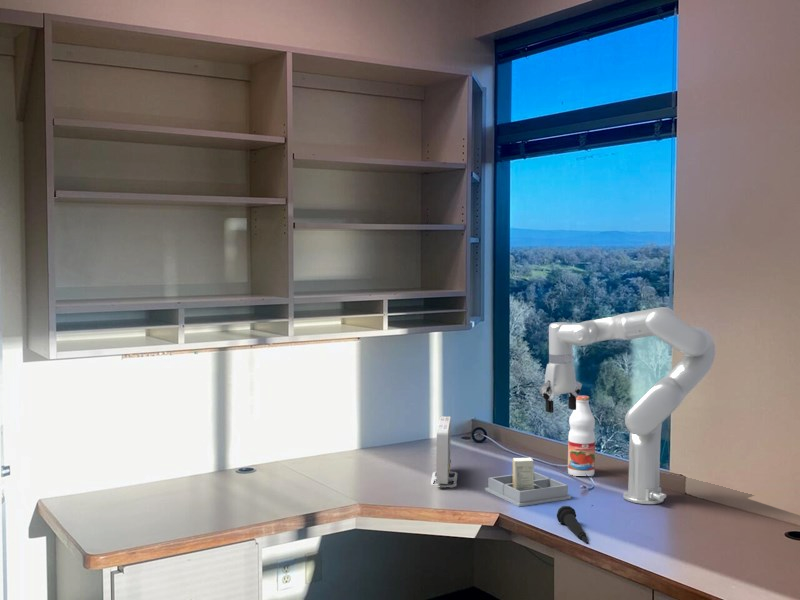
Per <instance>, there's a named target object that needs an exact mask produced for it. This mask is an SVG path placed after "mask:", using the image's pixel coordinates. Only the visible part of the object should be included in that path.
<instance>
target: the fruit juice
mask: <svg viewBox="0 0 800 600" xmlns="http://www.w3.org/2000/svg"><path fill="white" fill-rule="evenodd" d="M589 403H590V396H588V395H578V397H577V398H576V410H572V413H571V414H570V416H569V418H568V424H569V431H568V435H567V436H568V438H567V440H568V441H567V473H568V475H569V476H572V475H573V477H576V476H586V474H585V473H587V474H588V475H590V476H591V477H594V476H595V469H596V467H595V466H596V461H595V460H596V434H595V433H596V432H595V431H594V428H595V426H596V425H595V424H596V419H595V416H594V414H593V413H592V410H591V406H590V404H589Z"/></svg>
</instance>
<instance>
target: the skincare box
mask: <svg viewBox="0 0 800 600" xmlns="http://www.w3.org/2000/svg"><path fill="white" fill-rule="evenodd" d="M534 463H535V462H534V459H533V457H513V458H512V475H513V488H515V489H517V490H519V491H525V490H532V489H534V472H535V470H534V469H535V468H534V467H535V465H534Z"/></svg>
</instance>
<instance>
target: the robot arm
mask: <svg viewBox="0 0 800 600" xmlns="http://www.w3.org/2000/svg"><path fill="white" fill-rule="evenodd" d="M652 336H653V337H654V336H655V337H657V338H658V339H659V340H660V341H662V342H664V343H666V344H667V345H669V347H672V348H673V349H675V350H677V351H678V352H680V353H682V354H683V355H684V357H683V358H682V359H681V360H680V361H678V363H677V364H676V365H675V366H674V367H673V368H672V369H671V370H670V371H669V372H668V373H667V374H666V375H665V376H663V377H662V378H661V379H660V380H658V381H657V382H656V383H655V384H653V385H652V386H651V388H649V389H648V390H647V391H646V392H645V394H643V395H642V396H641V397H640V398H639V399H638V401H636V403H634V405H632V406H631V407H630V408H629V409H628V411H627V412H626V414H625V417H624V423H625V427H626V428H627V431H628V432H629V441H628V442H629V443H628V444H629V445H628V446H629V450H628V487H627V488H628V489H627V491H624V492H623V495H622V497H623V499H624V500H626V501H628V502H631V503H635V504H641V505H656V504H661V503H663V502H665V499H666V498H667V494H666V493H663V492H662V487H660V475H661V473H660V468H661V467H660V465H661V461H660V460H661V437H662V436H661V435H662V428H663V427H662V426H663V422H664V421H665V420H667V419H668V417H669V416H670V415H671V414H673V412H674V411H675V410H677V408H678V407H680V405H681V404H682V403H683V400H684V399H685V398H686V397H687V396H688V395H689V394H690V393H691V391H692V390H693V389H694V388H696V387H697V385H698V384H699V383H700V382H701V381H702V380H703V379H704V378H705V377H706V376H707V374H708V373H709V372H710V370H711V369H712V368H713V367H712V366H713V364H714V362H715V359H716V346H715V341H714V338H713V336H712V334H711V333H710V331H708V329H706V328H704V327H701V326H692V325H691V324H688V323H687V322H685V321H684V320H682V319H681V318H679V317H678V316H677V313H676V312H675V311H674V310H673V309H672V308H669V307H667V306H661V307H654V308H647V309H644V310H637V311H632V312H625V313H620V314H616V315H614V316H609V317H608V316H607V317H603V318H602V317H601V318H597V319H590V320H585V321H580V322H578V323H569V322H565V321H562V322H561V321H560V322H559V321H558V322H551V323H550V324H549V325H548V363H547V364H546V367H545V375H544V384H542V385H541V386H540V387H538V390H539V393H540V395H541V397H542V398H543V400H545V412H547V413H551V414H553V413H554V400H553V398H554V396H556V395H565V394H568V395H569V396H568V399H567V400H568V402H567V403H568V405H567V406H568V407H567V408H568V409H569V410H572V411H573V410H576V398H577V397H578V396H579V394H580V392H581V389H582V386H583V383H581V382H579V381H577V380H576V371H575V370H576V369H575V366H574V363H573V359H575V356H574V355H573V346H578V347H579V346H580V347H581V346H582V347H583V346H584V347H585V346H587V345H589V344H593V343H597V342H598V343H599V342H603V341H604V342H605V341H610V340H624V341H626V340H635V339H639V338H640V339H641V338H648V337H652Z"/></svg>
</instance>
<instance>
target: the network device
mask: <svg viewBox="0 0 800 600" xmlns="http://www.w3.org/2000/svg"><path fill="white" fill-rule="evenodd" d="M451 423H452V421H451V416H443V415H442V416H440V417H439V420H438V424H437V428H436V465H435V466H436V471H433V472H432V474H431V480H430V486H431V485H433V486H440V487H439V488H446V487H450V488H454V486H455V487H457V482H458V481H457V480H458V472H456V471H451V470H450V469H451V463H452V459H451V439H452V437H451V436H452V435H451V431H452V430H451V426H452V424H451ZM449 473H450V474H449ZM454 474H455V475H454ZM450 475H453V477H452V476H451V477H450ZM434 480H436V481H434ZM452 481H454V482H453V484H449V482H452ZM435 482H436V483H435ZM433 483H434V484H433ZM433 486H432V487H433Z"/></svg>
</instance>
